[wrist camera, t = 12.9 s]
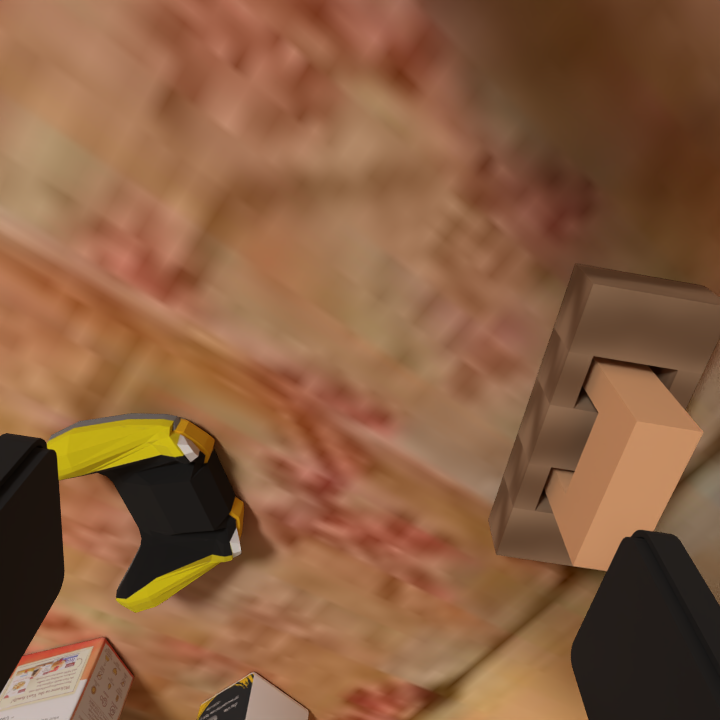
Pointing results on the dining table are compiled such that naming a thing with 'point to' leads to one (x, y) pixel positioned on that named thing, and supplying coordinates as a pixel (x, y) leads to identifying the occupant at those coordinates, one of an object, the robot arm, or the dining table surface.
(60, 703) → the cracker box
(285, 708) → the medicine bottle
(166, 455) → the gaming controller
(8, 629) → the robot arm
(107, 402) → the dining table surface
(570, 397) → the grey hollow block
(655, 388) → the peach block
